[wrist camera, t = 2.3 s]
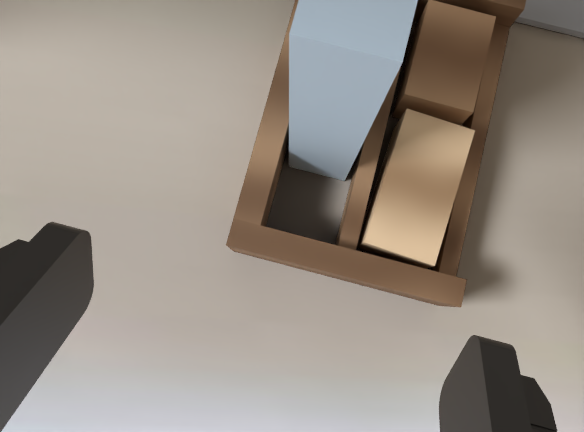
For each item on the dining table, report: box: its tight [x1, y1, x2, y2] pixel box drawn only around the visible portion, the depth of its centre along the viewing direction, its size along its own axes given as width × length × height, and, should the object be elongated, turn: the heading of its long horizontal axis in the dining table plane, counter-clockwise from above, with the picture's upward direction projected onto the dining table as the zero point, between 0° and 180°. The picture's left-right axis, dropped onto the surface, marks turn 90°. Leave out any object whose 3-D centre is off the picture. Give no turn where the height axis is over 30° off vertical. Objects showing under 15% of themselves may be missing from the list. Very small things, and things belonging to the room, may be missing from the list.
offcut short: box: [391, 0, 496, 125], centre depth 32 cm, size 6×4×4 cm, turn 164°
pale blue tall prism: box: [289, 0, 418, 181], centre depth 25 cm, size 7×4×17 cm, turn 165°
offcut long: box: [356, 109, 475, 268], centre depth 31 cm, size 8×4×4 cm, turn 161°
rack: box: [226, 0, 526, 307], centre depth 32 cm, size 19×13×4 cm
